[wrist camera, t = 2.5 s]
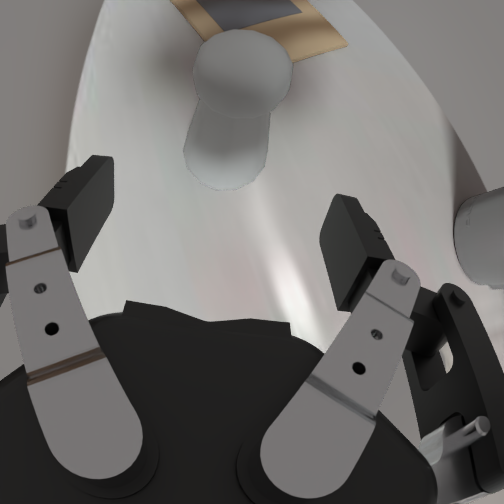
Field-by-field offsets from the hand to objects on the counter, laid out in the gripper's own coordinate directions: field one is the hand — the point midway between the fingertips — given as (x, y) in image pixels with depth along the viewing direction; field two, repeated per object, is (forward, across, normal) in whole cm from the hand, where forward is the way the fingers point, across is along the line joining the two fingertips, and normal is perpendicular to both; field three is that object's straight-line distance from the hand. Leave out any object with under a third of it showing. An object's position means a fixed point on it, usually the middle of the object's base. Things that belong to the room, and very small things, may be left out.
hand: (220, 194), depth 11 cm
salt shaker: (+13, 0, +5) cm, 14 cm away
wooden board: (+27, +1, -9) cm, 28 cm away
